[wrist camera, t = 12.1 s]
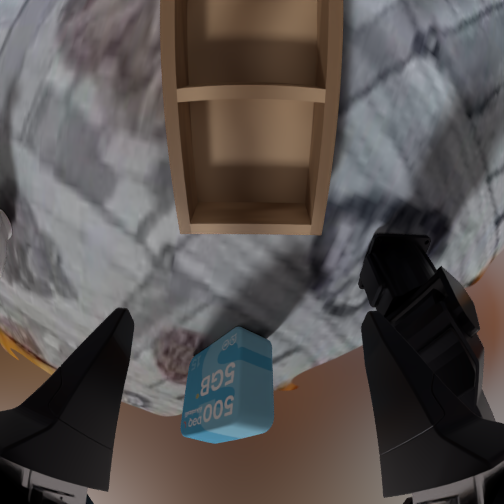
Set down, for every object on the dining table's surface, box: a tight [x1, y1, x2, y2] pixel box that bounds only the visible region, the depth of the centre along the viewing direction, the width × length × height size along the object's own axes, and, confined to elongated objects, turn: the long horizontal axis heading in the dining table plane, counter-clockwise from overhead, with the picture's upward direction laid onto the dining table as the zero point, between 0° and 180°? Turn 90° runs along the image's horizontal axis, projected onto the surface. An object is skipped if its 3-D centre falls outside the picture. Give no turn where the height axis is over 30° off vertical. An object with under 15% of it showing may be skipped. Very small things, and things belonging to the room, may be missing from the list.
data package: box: [181, 327, 274, 443], centre depth 29 cm, size 12×4×12 cm, turn 140°
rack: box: [160, 0, 343, 235], centre depth 12 cm, size 10×27×4 cm, turn 0°
